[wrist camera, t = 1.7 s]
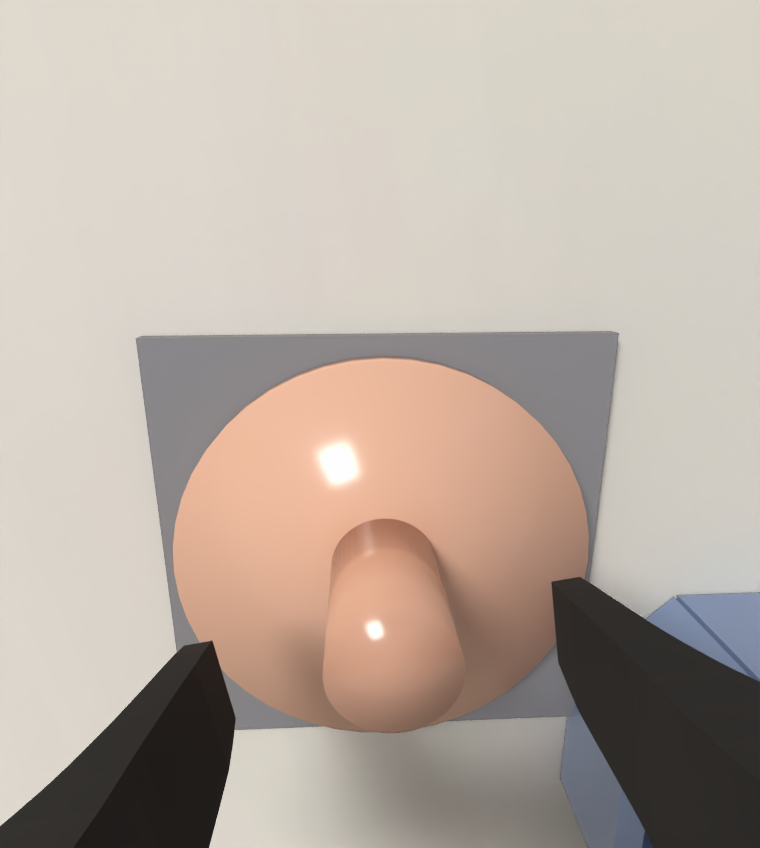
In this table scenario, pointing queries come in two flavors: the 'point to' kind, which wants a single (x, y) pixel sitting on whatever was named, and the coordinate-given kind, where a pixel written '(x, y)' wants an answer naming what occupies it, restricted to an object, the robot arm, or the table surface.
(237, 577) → the lid
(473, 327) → the table surface
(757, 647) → the bowl
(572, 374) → the mat
